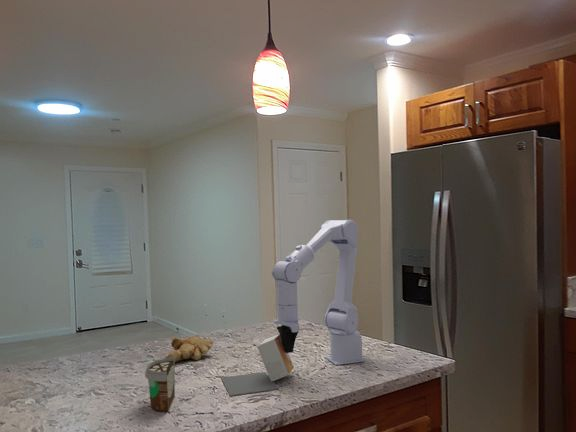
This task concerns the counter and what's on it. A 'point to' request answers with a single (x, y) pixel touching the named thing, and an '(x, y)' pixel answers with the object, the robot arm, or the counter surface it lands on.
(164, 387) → the food container
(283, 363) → the small box
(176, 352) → the ginger root
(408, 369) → the counter surface
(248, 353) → the counter surface
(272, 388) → the mat
